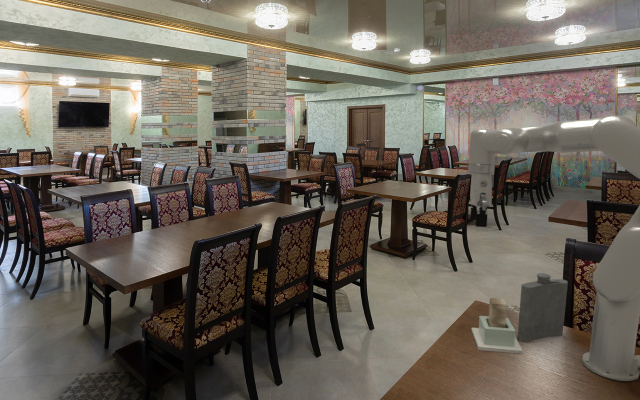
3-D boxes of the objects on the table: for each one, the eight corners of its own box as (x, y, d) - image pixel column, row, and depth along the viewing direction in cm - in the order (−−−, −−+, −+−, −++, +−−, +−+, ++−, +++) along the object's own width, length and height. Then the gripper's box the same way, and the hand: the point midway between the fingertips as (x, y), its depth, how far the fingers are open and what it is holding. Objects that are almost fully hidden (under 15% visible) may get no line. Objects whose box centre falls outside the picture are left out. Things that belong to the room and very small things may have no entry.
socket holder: (511, 333, 128) (512, 315, 127) (522, 354, 116) (524, 334, 115) (471, 330, 130) (472, 312, 129) (478, 350, 118) (479, 330, 117)
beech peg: (501, 335, 124) (504, 299, 122) (504, 342, 121) (507, 304, 118) (487, 334, 125) (489, 298, 123) (489, 341, 121) (492, 303, 119)
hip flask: (522, 343, 122) (527, 280, 119) (512, 336, 126) (517, 275, 123) (564, 335, 126) (571, 274, 123) (554, 329, 130) (560, 270, 127)
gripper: (500, 172, 117) (496, 230, 120) (488, 167, 134) (485, 217, 136) (473, 172, 118) (470, 229, 121) (464, 166, 135) (461, 217, 138)
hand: (478, 223), depth 129 cm, fingers open, 9 cm apart
